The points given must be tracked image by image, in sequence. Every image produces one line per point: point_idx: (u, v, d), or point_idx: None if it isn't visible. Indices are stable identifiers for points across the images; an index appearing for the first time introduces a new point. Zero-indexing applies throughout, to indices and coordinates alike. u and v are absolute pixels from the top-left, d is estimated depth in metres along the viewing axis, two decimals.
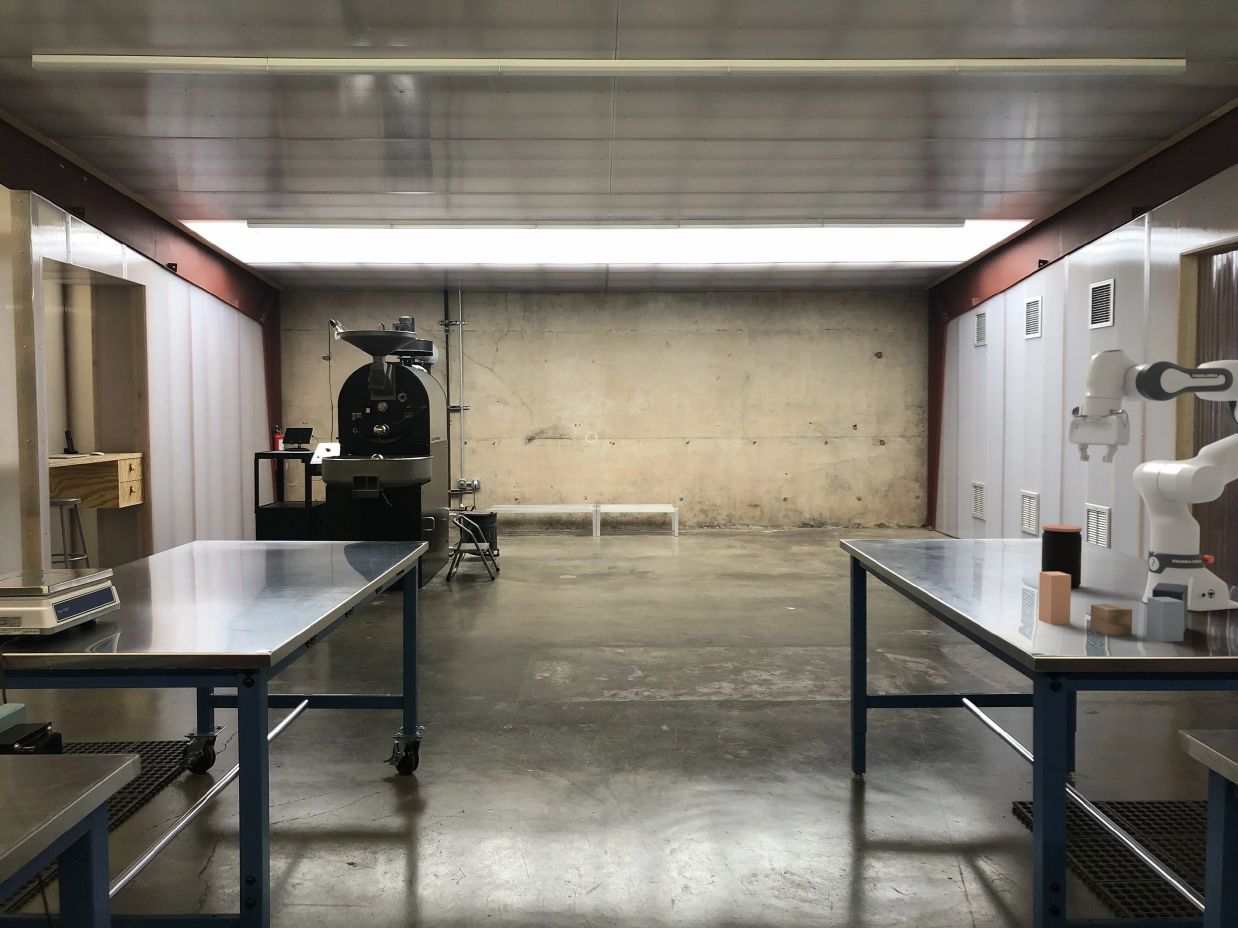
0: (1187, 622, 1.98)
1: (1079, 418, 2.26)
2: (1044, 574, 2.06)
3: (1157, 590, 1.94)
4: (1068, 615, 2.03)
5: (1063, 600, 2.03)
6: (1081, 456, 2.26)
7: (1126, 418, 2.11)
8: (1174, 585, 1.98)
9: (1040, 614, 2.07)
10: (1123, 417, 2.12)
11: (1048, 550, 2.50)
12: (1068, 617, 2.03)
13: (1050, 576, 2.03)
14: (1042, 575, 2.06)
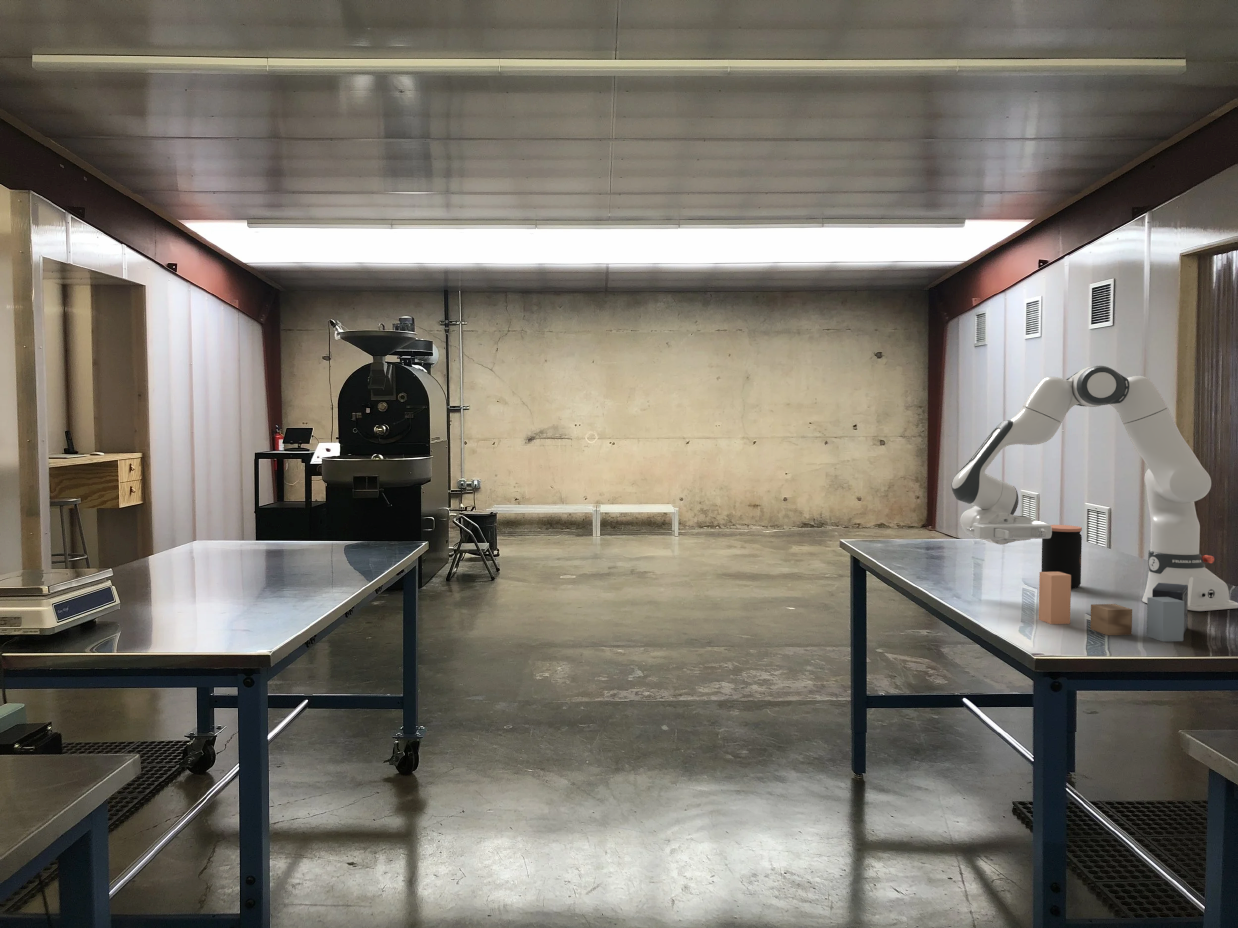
0: (1187, 622, 1.98)
1: (1019, 539, 2.29)
2: (1044, 574, 2.06)
3: (1157, 590, 1.94)
4: (1068, 615, 2.03)
5: (1063, 600, 2.03)
6: None
7: (967, 530, 2.28)
8: (1174, 585, 1.98)
9: (1040, 614, 2.07)
10: None
11: (1048, 550, 2.50)
12: (1068, 617, 2.03)
13: (1050, 576, 2.03)
14: (1042, 575, 2.06)
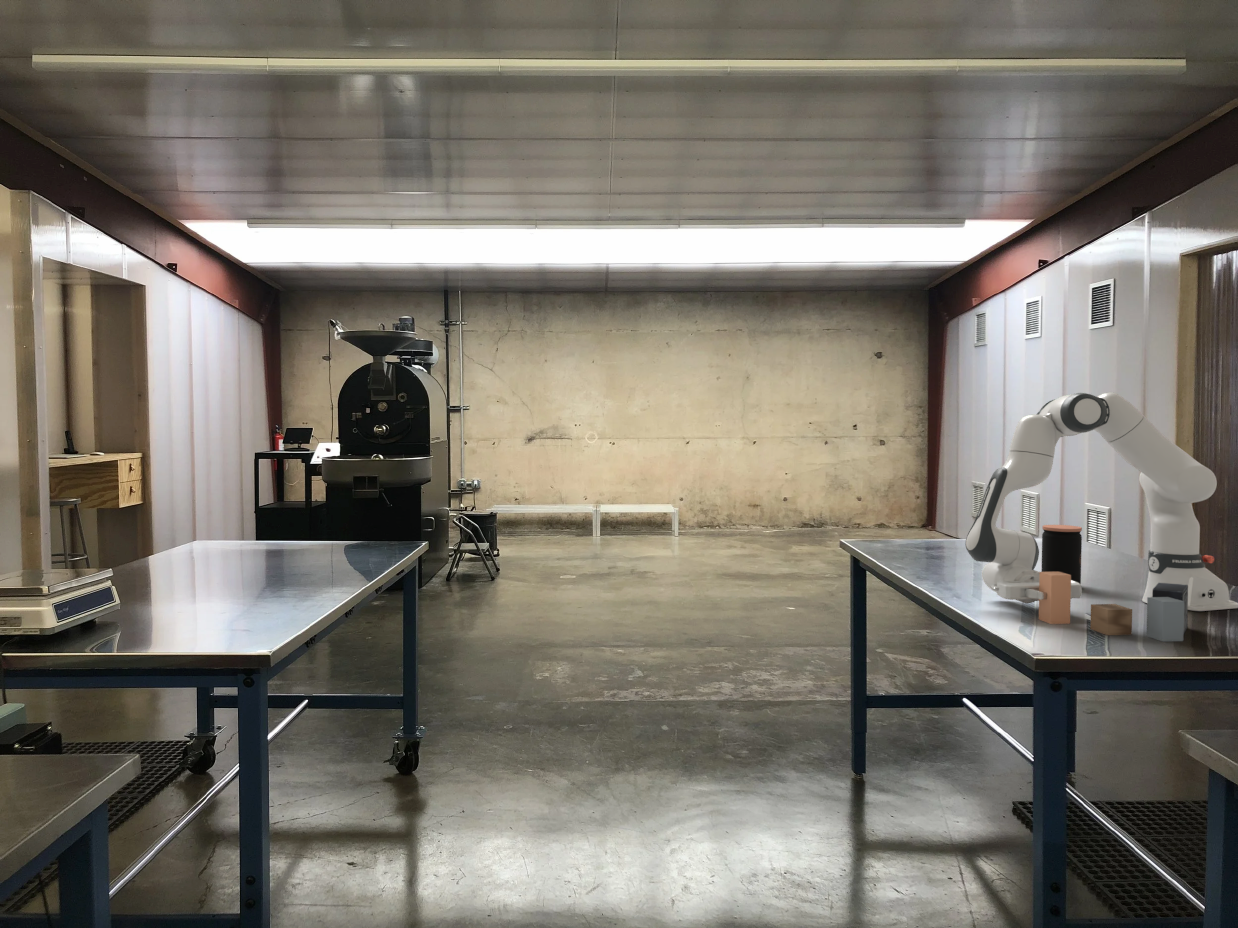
0: (1187, 622, 1.98)
1: None
2: (1044, 574, 2.06)
3: (1157, 590, 1.94)
4: (1068, 615, 2.03)
5: (1063, 600, 2.03)
6: None
7: (991, 588, 2.15)
8: (1174, 585, 1.97)
9: (1040, 614, 2.07)
10: None
11: (1048, 550, 2.50)
12: (1068, 617, 2.03)
13: (1050, 576, 2.03)
14: (1042, 575, 2.06)
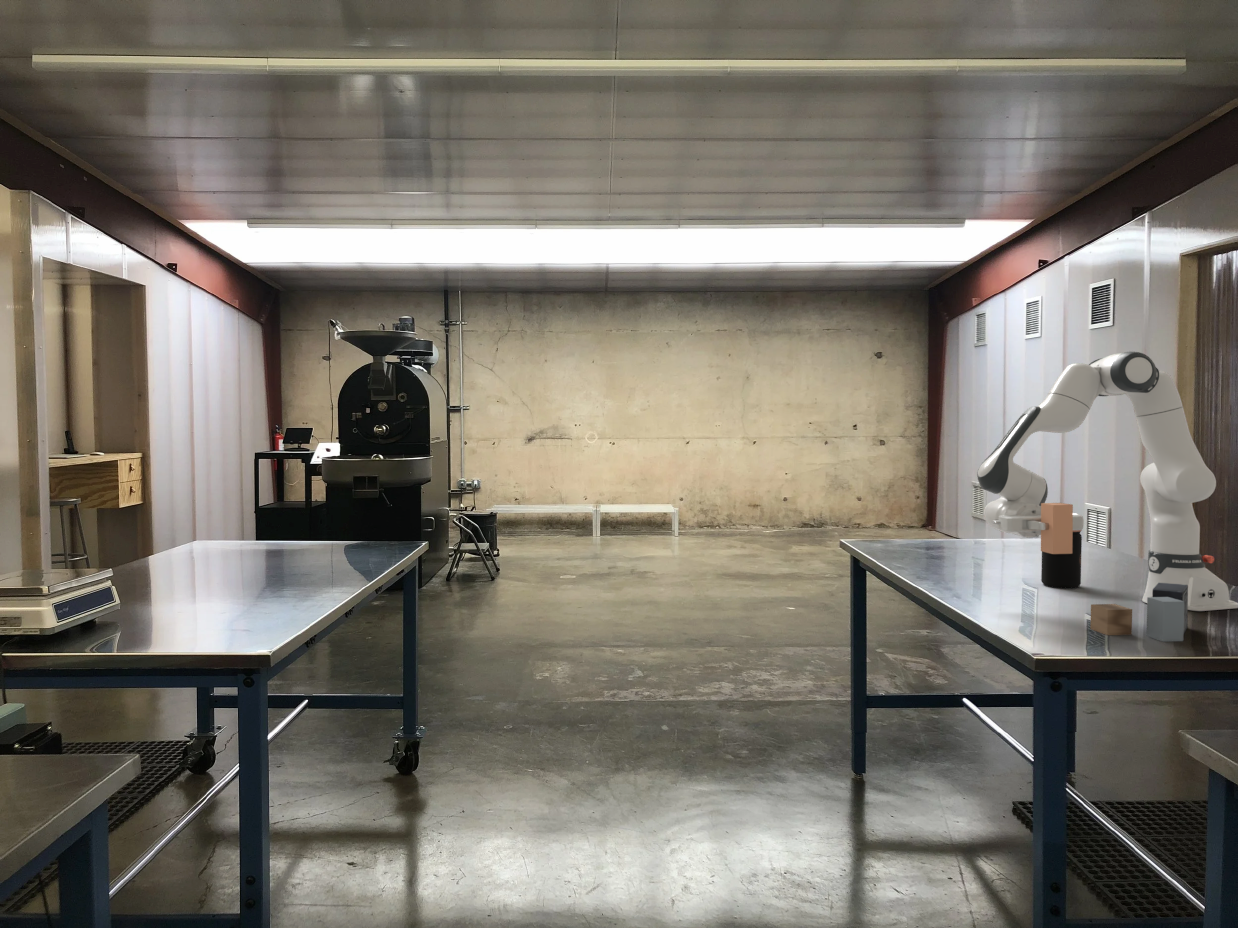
0: (1187, 622, 1.98)
1: None
2: (1046, 505, 2.05)
3: (1157, 590, 1.94)
4: (1070, 545, 2.03)
5: (1065, 530, 2.02)
6: None
7: (993, 522, 2.14)
8: (1174, 585, 1.97)
9: (1042, 545, 2.07)
10: None
11: None
12: (1070, 547, 2.03)
13: (1052, 506, 2.02)
14: (1044, 506, 2.06)
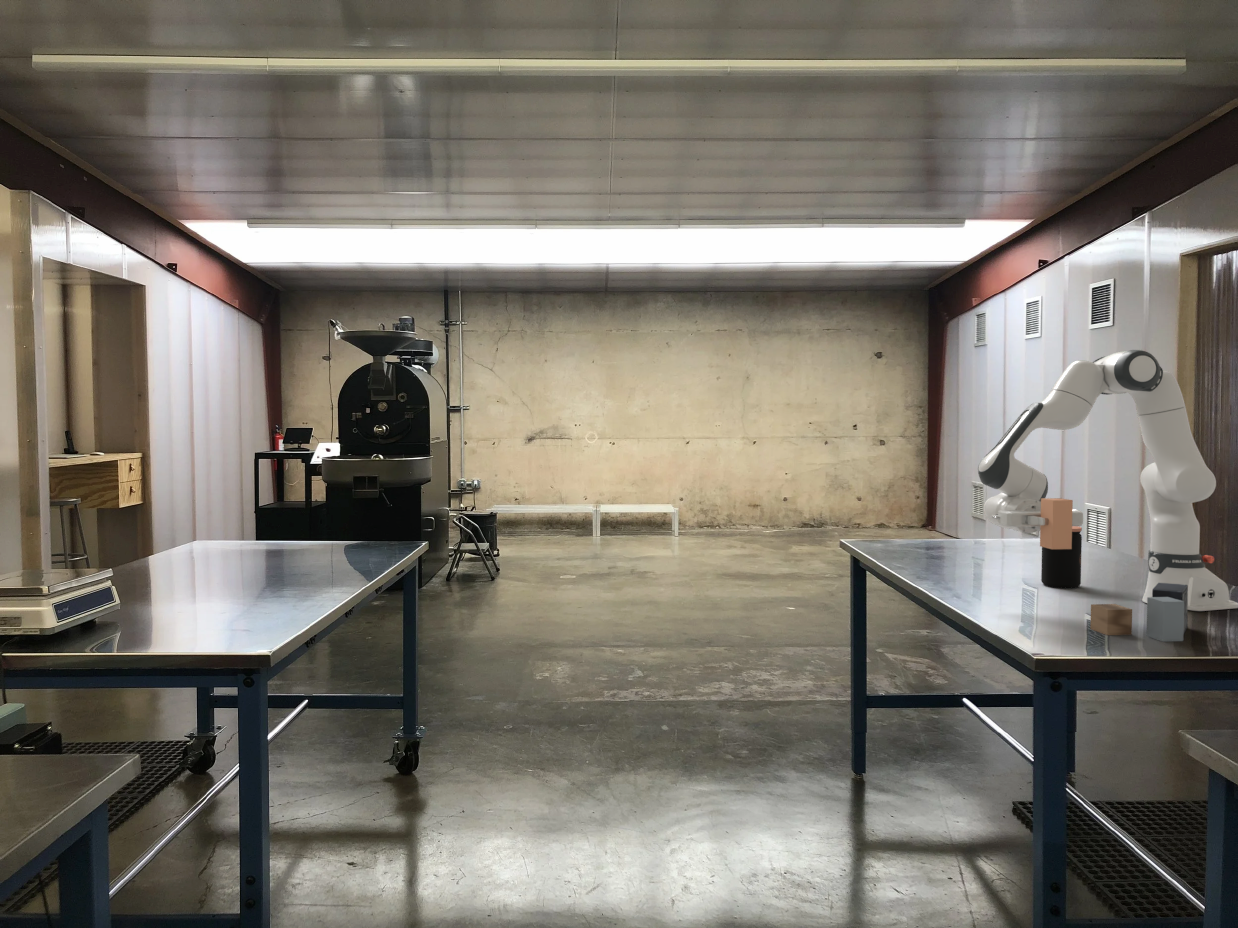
0: (1187, 622, 1.98)
1: None
2: (1046, 500, 2.05)
3: (1157, 590, 1.94)
4: (1069, 540, 2.03)
5: (1065, 525, 2.02)
6: None
7: (993, 517, 2.14)
8: (1174, 585, 1.98)
9: (1041, 540, 2.07)
10: None
11: (1048, 550, 2.50)
12: (1069, 543, 2.03)
13: (1052, 501, 2.02)
14: (1044, 501, 2.06)
